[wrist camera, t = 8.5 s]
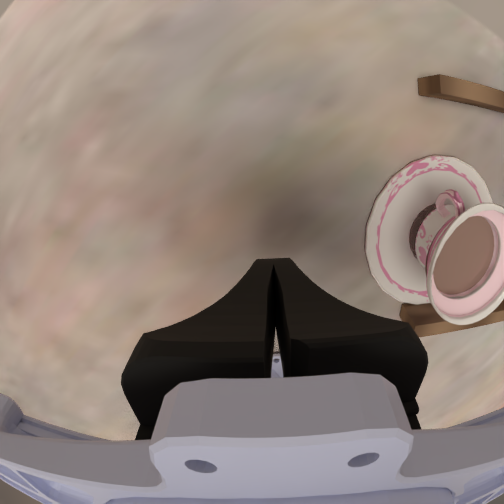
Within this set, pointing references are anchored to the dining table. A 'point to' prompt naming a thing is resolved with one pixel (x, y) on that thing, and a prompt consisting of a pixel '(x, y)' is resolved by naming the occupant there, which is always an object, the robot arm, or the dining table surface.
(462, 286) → the teacup
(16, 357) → the dining table surface
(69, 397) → the dining table surface
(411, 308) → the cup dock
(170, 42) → the dining table surface
